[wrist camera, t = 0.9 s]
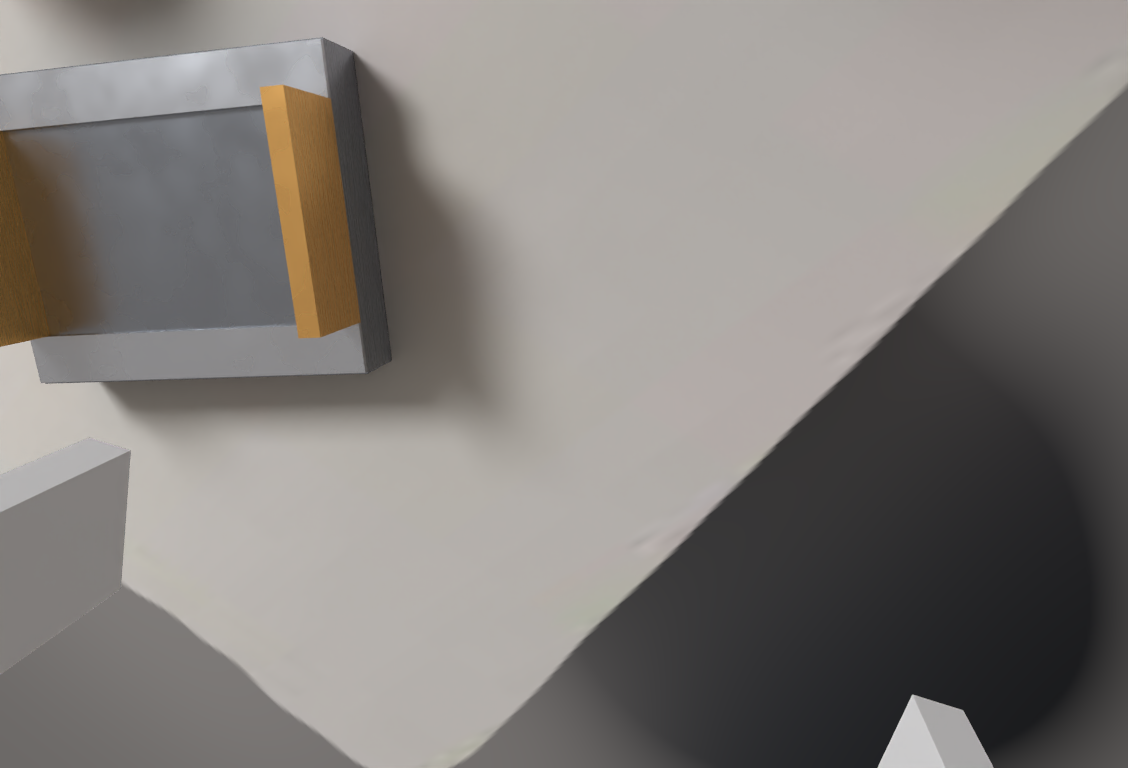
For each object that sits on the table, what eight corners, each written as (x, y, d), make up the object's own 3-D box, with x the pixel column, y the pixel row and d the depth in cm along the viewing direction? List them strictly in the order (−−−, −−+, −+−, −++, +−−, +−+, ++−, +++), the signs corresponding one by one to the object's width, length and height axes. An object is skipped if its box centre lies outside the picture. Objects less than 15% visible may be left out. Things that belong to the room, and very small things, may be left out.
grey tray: (26, 87, 37) (-118, 62, 30) (352, 51, 34) (272, 14, 27) (90, 370, 41) (-27, 404, 34) (391, 360, 38) (328, 394, 31)
